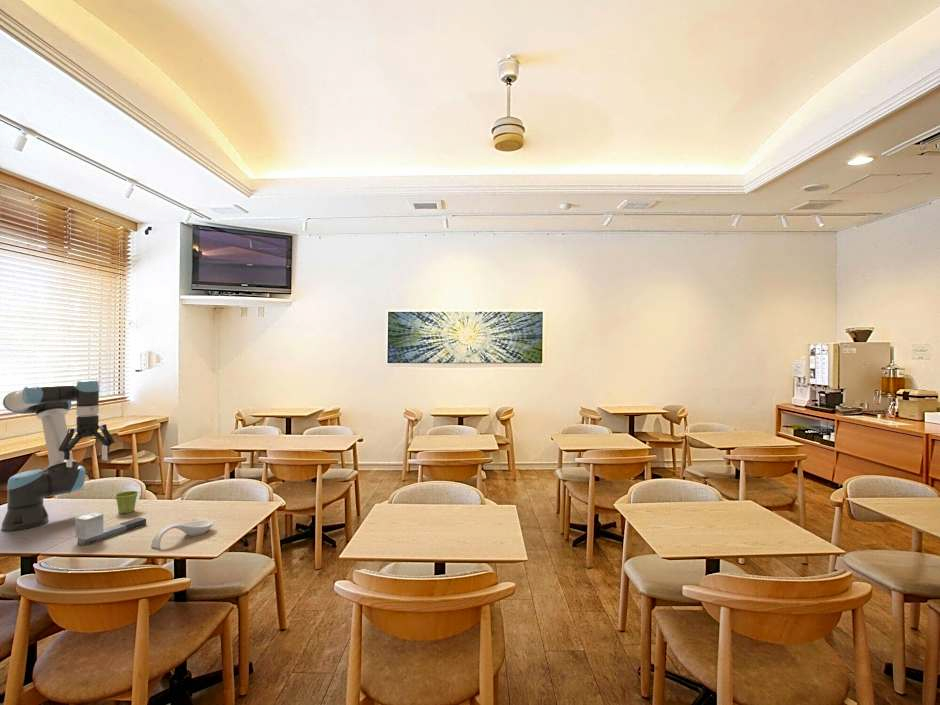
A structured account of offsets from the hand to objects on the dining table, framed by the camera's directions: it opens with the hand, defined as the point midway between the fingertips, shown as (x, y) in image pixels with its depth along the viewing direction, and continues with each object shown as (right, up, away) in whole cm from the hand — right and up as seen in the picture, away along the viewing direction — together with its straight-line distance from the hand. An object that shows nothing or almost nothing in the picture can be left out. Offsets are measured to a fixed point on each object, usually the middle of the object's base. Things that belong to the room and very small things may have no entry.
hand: (87, 463), depth 202 cm
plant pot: (+2, -29, +21) cm, 36 cm away
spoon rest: (+49, -29, -11) cm, 58 cm away
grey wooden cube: (+13, -26, -15) cm, 33 cm away
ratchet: (+17, -29, -7) cm, 34 cm away
